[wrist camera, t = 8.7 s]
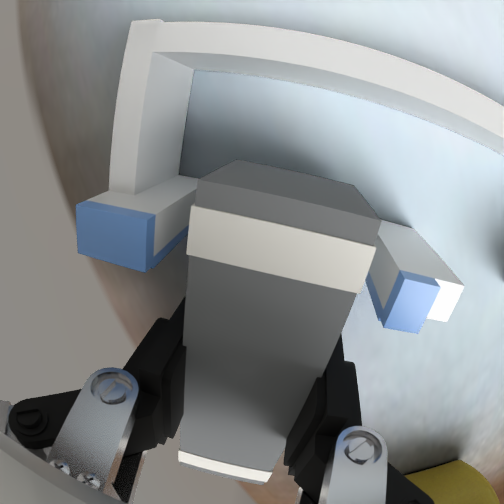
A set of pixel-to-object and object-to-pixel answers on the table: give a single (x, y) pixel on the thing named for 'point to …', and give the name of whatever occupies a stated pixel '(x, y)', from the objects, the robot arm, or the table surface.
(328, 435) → the robot arm
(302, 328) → the white-capped gray brick
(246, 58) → the white arch handle
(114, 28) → the table surface
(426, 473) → the flower pot
